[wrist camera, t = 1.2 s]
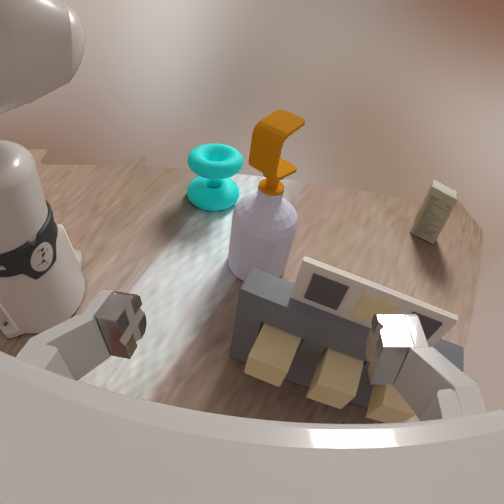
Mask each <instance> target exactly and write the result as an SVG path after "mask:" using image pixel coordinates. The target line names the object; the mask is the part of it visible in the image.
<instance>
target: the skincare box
mask: <svg viewBox="0 0 504 504" xmlns="http://www.w3.org/2000/svg"><path fill="white" fill-rule="evenodd" d="M456 202H457V191H455V190H453V189H451V188H450V187H448V186H446V185H444V184H442V183H440V182H438V181H436V180H434V179H433V181H432V183H431V185H430V187H429V190H428V192H427V194H426V197H425V198H424V201H423V203H422V205H421V207H420V209H419V211H418V213H417V215H416V217H415V219H414V221H413V224H412V226H411V230H410V233H412V234H414V235H416V236H418V237H420V238H422V239H424V240H426V241H428V242H430V243H431V244H434V243H435V241H436V239H437V237H438V235H439V234H440V232H441V230H442V228H443V226H444V225H445V223H446V221H447V219H448V217H449V215H450V213H451V211H452V209H453V207H454V206H455V204H456Z"/></svg>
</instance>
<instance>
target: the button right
mask: <svg viewBox="0 0 504 504" xmlns="http://www.w3.org/2000/svg"><path fill="white" fill-rule="evenodd" d="M414 415H416V414H415V413H414V411H413V410H412V409H411V408H410V406H409V405H408V404H407V403H406V401H405V400H404V399H403V397H402V396H401V395H400V394H399V392H398V391H397V390H396V389H395V387H394V386H393V385H376V384H373V388H372V392H371V397H370V401H369V405H368V409H367V413H366V417H367V418H370V419H374V420H377V421H380V422H384V423H401V422H404V421H406V420H408V419H409V418H411V417H412V416H414Z"/></svg>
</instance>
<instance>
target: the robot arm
mask: <svg viewBox="0 0 504 504" xmlns="http://www.w3.org/2000/svg"><path fill="white" fill-rule="evenodd" d="M84 50H85V31H84V27H83V24H82V21H81V19H80V17H79V16H78V14H77V13H76V12H75V11H74V9H72V8H71V7H70V6H69V5H67V4H66V3H64V2H62V1H59V0H0V114H1V113H4V112H7V111H9V110H12V109H15V108H17V107H20V106H23V105H25V104H28V103H31V102H33V101H35V100H37V99H39V98H40V97H43V96H45V95H47V94H48V93H50V92H52V91H54V90H56V89H58V88H60V87H62V86H64V85H66V84H68V83H69V82H70V81H71V79H72V78H73V77H74V75H75V74H76V72H77V70H78V68H79V66H80V64H81V61H82V58H83V55H84ZM55 220H56V219H55V216H54V213H53V211H52V209H51V207H50V205H49V203H48V202H47V201H46V200H45V197H44V194H43V190H42V187H41V183H40V179H39V176H38V172H37V168H36V164H35V160H34V158H33V156H32V155H31V153H30V152H29V151H28V150H27V149H26V148H24V147H23V146H21V145H19V144H17V143H14V142H10V141H2V140H0V329H1V331H2V332H3V334H4V336H5V337H6V338H14V337H17V336H19V335H22V334H26V333H34V334H36V333H40V334H38V335H36V336H34V337H32V338H30V339H29V341H28V342H27V343H26V344H25V346H24V347H23V348H22V349H21V351H20V352H19V353H18V354H17V356H16V357H13V356H10V355H8V354H6V353H4V352H1V351H0V504H504V409H502V410H497V411H492V412H486V408H485V405H484V402H483V399H482V396H481V393H480V390H479V387H478V385H477V384H476V383H475V382H473V381H472V380H471V379H470V378H469V377H468V376H466V375H465V374H464V373H463V372H462V371H461V370H459V369H458V368H457V367H456V366H455V365H454V364H452V363H451V362H450V361H449V360H448V359H446V358H445V357H444V356H443V355H442V354H441V353H439V352H438V351H437V350H436V349H435V348H433V347H429V346H428V343H427V340H426V337H425V334H424V331H423V329H422V326H421V323H420V320H419V318H418V315H416V314H374V316H373V319H372V322H371V324H372V330H371V331H370V332H369V333H368V337H367V341H366V359H367V360H368V361H369V362H370V365H369V368H368V374H369V381H370V384H376V385H393V386H394V387H395V389H396V390H397V391H398V392H399V394H400V395H401V396H402V397H403V399H404V400H405V401H406V403H407V404H408V405H409V406H410V408H411V409H412V410H413V411H414V413H415V414H416V415H417V417H418V418H419V419H420V420H419V421H415V422H401V423H380V424H322V423H300V422H285V421H273V420H262V419H253V418H244V417H236V416H229V415H222V414H215V413H209V412H203V411H197V410H191V409H186V408H181V407H176V406H171V405H166V404H161V403H157V402H152V401H148V400H144V399H140V398H136V397H132V396H128V395H124V394H120V393H116V392H113V391H109V390H106V389H102V388H99V387H96V386H92V385H89V384H86V383H83V382H80V381H78V380H79V379H80V378H82V377H83V376H84V375H86V374H87V373H88V372H90V371H91V370H93V369H94V368H95V367H97V366H98V365H99V364H101V363H102V362H103V361H105V360H106V359H108V358H109V357H110V355H112V356H117V357H122V358H128V359H130V358H131V356H132V355H133V353H134V351H135V349H136V348H137V344H136V341H137V340H139V339H141V338H142V337H143V335H144V333H145V329H146V317H145V313H144V312H143V311H142V310H141V309H140V307H141V305H142V302H141V299H140V296H138V295H136V294H129V293H123V292H117V291H109V290H102V291H100V292H99V294H98V295H97V296H96V297H95V299H94V300H93V301H92V302H91V303H90V305H89V306H88V307H87V308H86V310H85V311H84V312H83V313H82V315H76V316H74V317H72V318H70V317H71V316H72V315H73V314H74V313H75V312H76V310H77V309H78V307H79V305H80V304H81V301H82V299H83V296H84V291H85V281H84V277H83V274H82V269H81V268H82V264H83V256H82V254H81V252H80V251H78V250H75V249H73V247H72V245H71V243H70V240H69V238H68V236H67V233H66V231H65V229H64V227H63V226H62V225H59V224H57V223H56V221H55ZM69 318H70V319H69ZM6 324H7V325H6Z"/></svg>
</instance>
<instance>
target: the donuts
mask: <svg viewBox="0 0 504 504" xmlns="http://www.w3.org/2000/svg"><path fill="white" fill-rule="evenodd" d="M188 165H189V167H190V169H191V170H192V171H193V172H194V173H195V174H197V175H199V177H197V178H195V179H194V180H193V181H192V182H191V183H190V184H189V186H188V189H187V195H188V198H189V200H190V201H191V203H192V204H194V205H195V206H197V207H198V208H201V209H204V210H208V211H220V210H224V209H227V208H229V207H231V206H232V205H234V204H235V203H236V201H237V200H238V197H239V189H238V186H237V185H236V183H235V182H234V181H233V180H231V179H230V178H229V177H231V176H234V175H235V174H237V173H238V172H239V171H240V170H241V168H242V166H243V158H242V155H241V154H240V153H239V152H238V151H237V150H236V149H235V148H233V147H230V146H228V145H224V144H215V143H213V144H212V143H211V144H204V145H201V146H198V147H196V148H195V149H193V150H192V151H191V152H190V154H189V156H188Z"/></svg>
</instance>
